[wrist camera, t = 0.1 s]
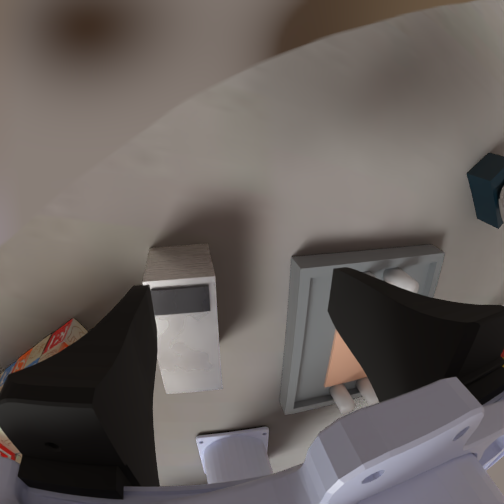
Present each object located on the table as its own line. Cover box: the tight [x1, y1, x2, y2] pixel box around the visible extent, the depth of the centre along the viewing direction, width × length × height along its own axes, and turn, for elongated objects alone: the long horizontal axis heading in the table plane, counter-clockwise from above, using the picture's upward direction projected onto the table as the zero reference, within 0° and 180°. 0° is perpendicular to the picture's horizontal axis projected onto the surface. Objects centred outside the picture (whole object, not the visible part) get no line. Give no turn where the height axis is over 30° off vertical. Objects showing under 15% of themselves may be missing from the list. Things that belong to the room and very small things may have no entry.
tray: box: [279, 244, 445, 415], centre depth 26 cm, size 16×14×4 cm
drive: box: [143, 243, 223, 394], centre depth 21 cm, size 9×4×5 cm, turn 179°
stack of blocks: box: [0, 318, 88, 464], centre depth 18 cm, size 21×6×12 cm, turn 120°
